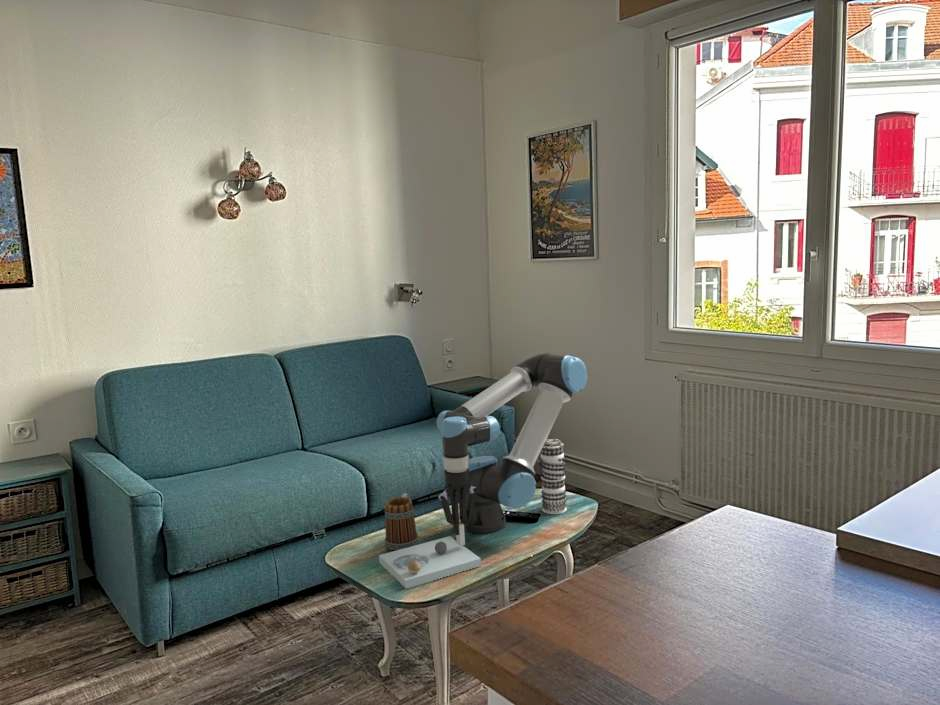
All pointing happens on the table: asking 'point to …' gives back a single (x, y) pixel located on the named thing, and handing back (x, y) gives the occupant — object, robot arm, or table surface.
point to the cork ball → (414, 566)
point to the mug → (400, 524)
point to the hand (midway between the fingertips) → (460, 543)
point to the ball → (440, 547)
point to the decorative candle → (553, 477)
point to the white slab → (429, 562)
